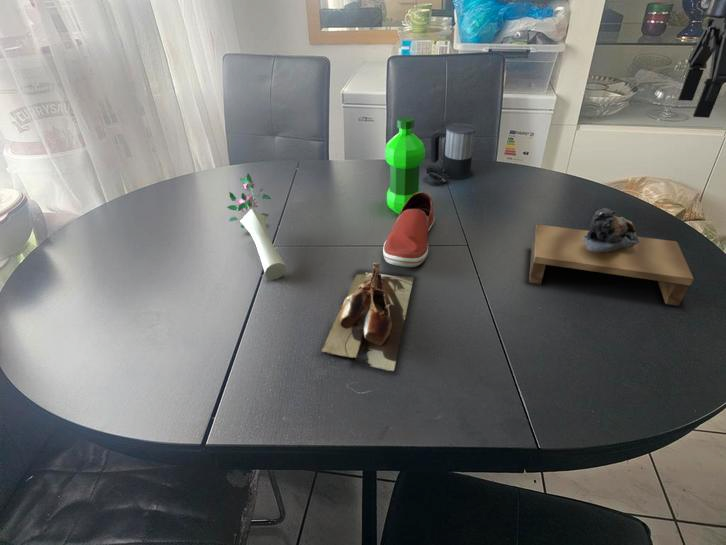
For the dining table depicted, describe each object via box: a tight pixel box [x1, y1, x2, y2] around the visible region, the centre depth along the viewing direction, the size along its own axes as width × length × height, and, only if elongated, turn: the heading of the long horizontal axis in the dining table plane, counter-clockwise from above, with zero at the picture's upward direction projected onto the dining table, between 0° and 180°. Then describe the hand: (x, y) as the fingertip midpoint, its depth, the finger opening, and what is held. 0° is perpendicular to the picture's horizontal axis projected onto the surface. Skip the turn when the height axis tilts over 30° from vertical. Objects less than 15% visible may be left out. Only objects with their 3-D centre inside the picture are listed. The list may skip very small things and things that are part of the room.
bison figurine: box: [583, 207, 640, 252], centre depth 89 cm, size 12×7×10 cm, turn 116°
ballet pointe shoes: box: [321, 262, 414, 372], centre depth 86 cm, size 14×7×28 cm
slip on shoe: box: [382, 191, 435, 268], centre depth 107 cm, size 11×29×9 cm, turn 162°
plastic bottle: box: [384, 116, 426, 215], centre depth 117 cm, size 10×10×25 cm
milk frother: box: [424, 122, 477, 185], centre depth 138 cm, size 14×16×15 cm
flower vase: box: [226, 172, 287, 280], centre depth 110 cm, size 12×12×35 cm
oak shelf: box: [528, 224, 695, 307], centre depth 94 cm, size 28×14×7 cm, turn 71°
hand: (692, 108), depth 97 cm, fingers open, 13 cm apart
